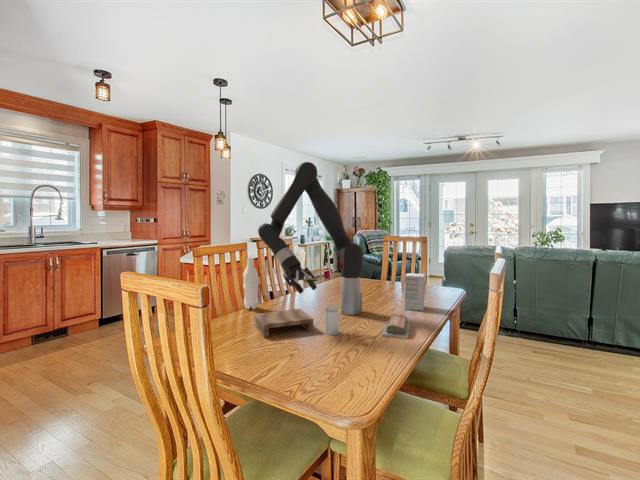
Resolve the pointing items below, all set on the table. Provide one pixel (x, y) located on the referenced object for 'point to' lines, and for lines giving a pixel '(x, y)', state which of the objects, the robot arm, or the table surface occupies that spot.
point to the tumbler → (332, 320)
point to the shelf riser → (282, 320)
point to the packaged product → (396, 327)
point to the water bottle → (250, 285)
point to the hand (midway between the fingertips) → (308, 290)
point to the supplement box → (414, 291)
